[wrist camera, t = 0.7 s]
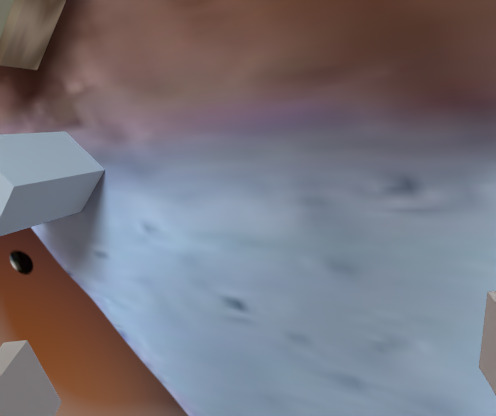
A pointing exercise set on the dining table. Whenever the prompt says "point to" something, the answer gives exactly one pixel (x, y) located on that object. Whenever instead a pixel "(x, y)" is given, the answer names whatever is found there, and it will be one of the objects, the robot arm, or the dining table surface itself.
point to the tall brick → (43, 179)
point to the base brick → (28, 32)
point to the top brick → (4, 13)
